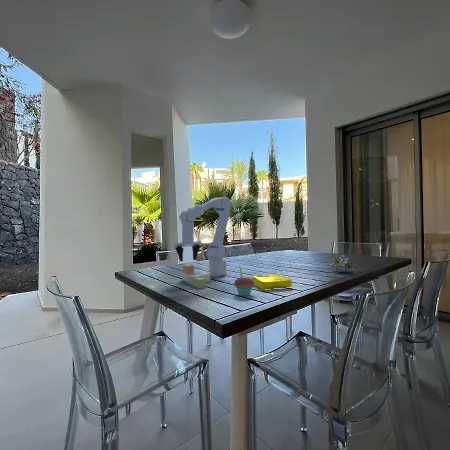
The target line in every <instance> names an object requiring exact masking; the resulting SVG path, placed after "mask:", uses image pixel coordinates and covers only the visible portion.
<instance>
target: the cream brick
mask: <svg viewBox="0 0 450 450" xmlns="http://www.w3.org/2000/svg"><path fill="white" fill-rule="evenodd" d="M202 278H205V279H206V283H210V282H211V276H210V272H209V271H203V272H202Z"/></svg>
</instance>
